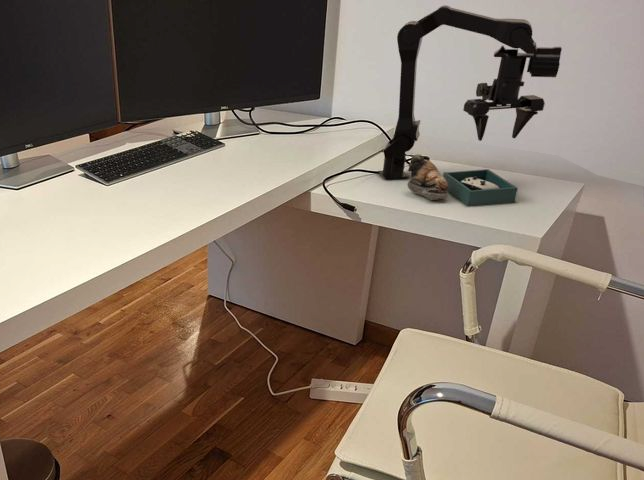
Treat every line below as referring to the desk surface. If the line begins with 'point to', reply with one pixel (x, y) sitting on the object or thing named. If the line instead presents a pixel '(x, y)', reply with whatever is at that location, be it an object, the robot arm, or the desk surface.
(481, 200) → the bin
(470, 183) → the game controller
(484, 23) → the robot arm
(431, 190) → the bison figurine
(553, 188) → the desk surface
